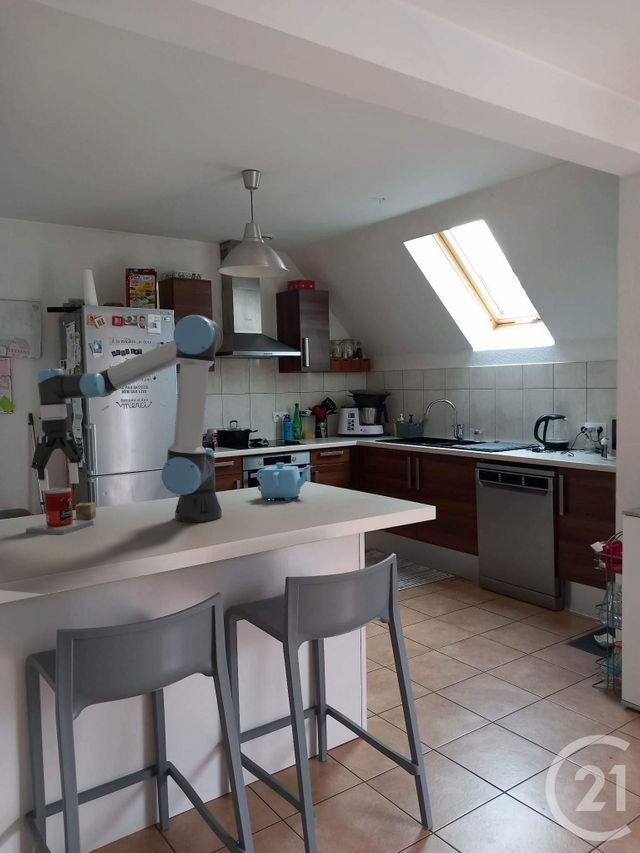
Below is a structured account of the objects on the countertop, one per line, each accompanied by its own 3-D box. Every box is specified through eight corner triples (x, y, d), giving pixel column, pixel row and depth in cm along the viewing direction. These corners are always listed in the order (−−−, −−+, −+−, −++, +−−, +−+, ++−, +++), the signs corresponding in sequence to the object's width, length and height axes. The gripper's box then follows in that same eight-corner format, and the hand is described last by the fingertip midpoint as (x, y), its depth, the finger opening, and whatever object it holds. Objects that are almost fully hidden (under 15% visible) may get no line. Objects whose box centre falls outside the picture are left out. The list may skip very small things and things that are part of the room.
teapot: (270, 503, 241) (269, 466, 240) (252, 497, 256) (250, 462, 255) (314, 498, 250) (313, 462, 249) (294, 492, 264) (293, 458, 264)
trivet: (93, 524, 213) (93, 520, 213) (63, 534, 200) (63, 530, 200) (57, 522, 218) (57, 519, 218) (26, 532, 204) (25, 528, 204)
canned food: (64, 527, 204) (62, 491, 204) (41, 526, 206) (39, 491, 205) (78, 521, 212) (76, 487, 211) (55, 521, 213) (53, 487, 213)
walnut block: (95, 517, 226) (95, 502, 226) (91, 520, 221) (90, 505, 221) (81, 517, 226) (80, 502, 226) (76, 520, 221) (75, 505, 221)
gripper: (71, 416, 219) (76, 480, 221) (14, 422, 196) (20, 493, 197) (90, 415, 217) (95, 480, 218) (35, 421, 194) (41, 493, 195)
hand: (60, 486), depth 208 cm, fingers open, 13 cm apart
